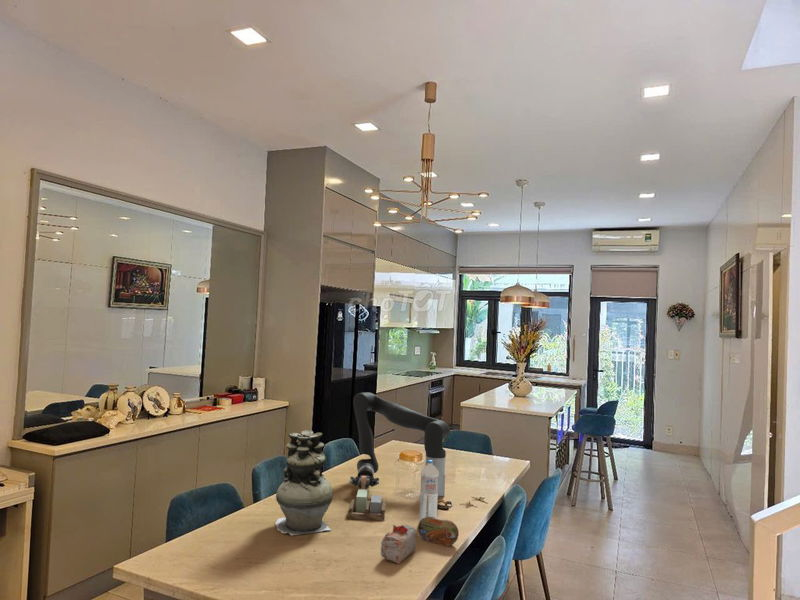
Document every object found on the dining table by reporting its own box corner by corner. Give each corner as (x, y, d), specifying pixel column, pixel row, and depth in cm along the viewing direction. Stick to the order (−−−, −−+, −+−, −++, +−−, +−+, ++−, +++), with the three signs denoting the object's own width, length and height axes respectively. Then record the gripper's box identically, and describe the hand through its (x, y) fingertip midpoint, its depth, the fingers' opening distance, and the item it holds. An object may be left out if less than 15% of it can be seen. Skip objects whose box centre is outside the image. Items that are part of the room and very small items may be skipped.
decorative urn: (282, 542, 185) (287, 441, 186) (268, 519, 204) (272, 428, 205) (339, 532, 195) (344, 437, 196) (320, 511, 214) (325, 424, 214)
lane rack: (385, 509, 221) (385, 501, 221) (384, 520, 209) (384, 511, 209) (351, 507, 221) (352, 499, 221) (348, 518, 209) (349, 509, 209)
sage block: (367, 498, 233) (368, 475, 234) (365, 512, 217) (366, 487, 217) (358, 498, 233) (359, 475, 234) (355, 511, 217) (356, 486, 217)
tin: (417, 539, 192) (418, 515, 192) (420, 536, 195) (421, 513, 195) (455, 549, 185) (456, 524, 185) (459, 546, 188) (460, 521, 188)
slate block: (380, 510, 221) (381, 495, 221) (380, 517, 212) (380, 502, 212) (371, 509, 221) (371, 494, 221) (369, 517, 212) (370, 502, 212)
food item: (400, 567, 169) (401, 535, 170) (378, 561, 173) (379, 530, 173) (417, 551, 182) (419, 522, 182) (397, 546, 185) (398, 517, 186)
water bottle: (438, 524, 207) (441, 459, 208) (433, 530, 201) (436, 463, 202) (421, 521, 209) (424, 457, 211) (416, 527, 203) (419, 461, 204)
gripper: (351, 466, 247) (347, 476, 229) (380, 467, 247) (379, 478, 229) (350, 482, 246) (346, 494, 229) (380, 484, 246) (378, 496, 229)
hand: (363, 486), depth 229 cm, fingers closed on sage block, 2 cm apart
